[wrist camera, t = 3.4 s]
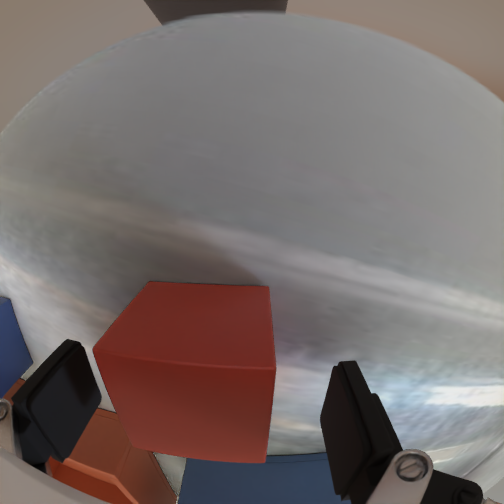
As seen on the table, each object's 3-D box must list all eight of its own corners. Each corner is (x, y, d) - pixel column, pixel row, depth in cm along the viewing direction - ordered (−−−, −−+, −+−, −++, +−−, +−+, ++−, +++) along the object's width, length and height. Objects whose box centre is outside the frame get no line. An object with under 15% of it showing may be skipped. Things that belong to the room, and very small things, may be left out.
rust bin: (-2, 367, 13) (-30, 397, 9) (138, 418, 13) (114, 475, 9) (60, 459, 18) (46, 486, 13) (177, 497, 17) (169, 533, 13)
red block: (148, 280, 11) (90, 348, 6) (269, 285, 11) (276, 367, 6) (163, 371, 12) (132, 447, 7) (263, 378, 12) (265, 463, 7)
